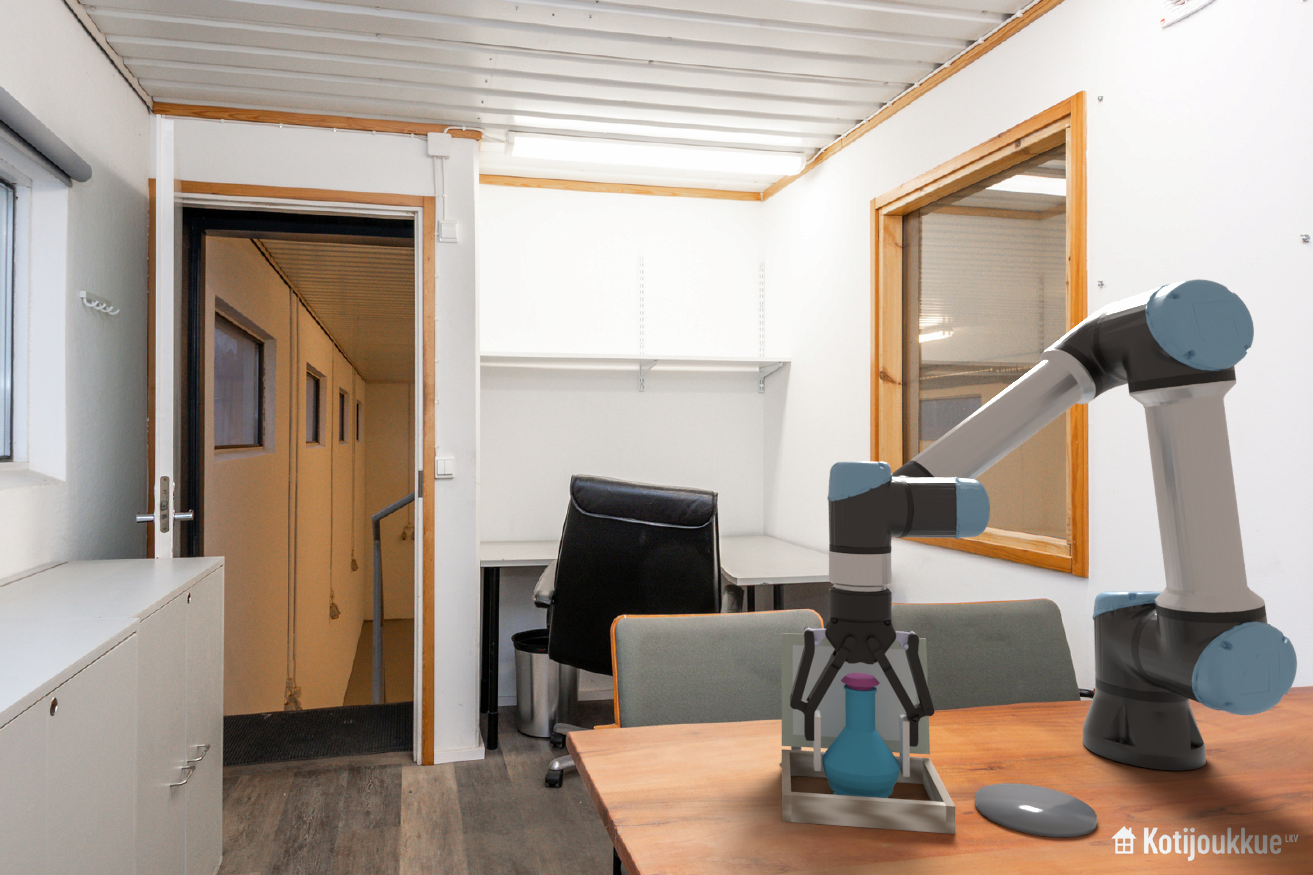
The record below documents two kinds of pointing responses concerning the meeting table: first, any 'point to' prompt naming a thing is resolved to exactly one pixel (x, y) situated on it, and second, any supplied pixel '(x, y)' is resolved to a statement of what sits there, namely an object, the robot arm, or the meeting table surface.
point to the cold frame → (868, 800)
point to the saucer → (1035, 810)
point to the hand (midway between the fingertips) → (860, 769)
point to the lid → (835, 696)
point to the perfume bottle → (860, 746)
